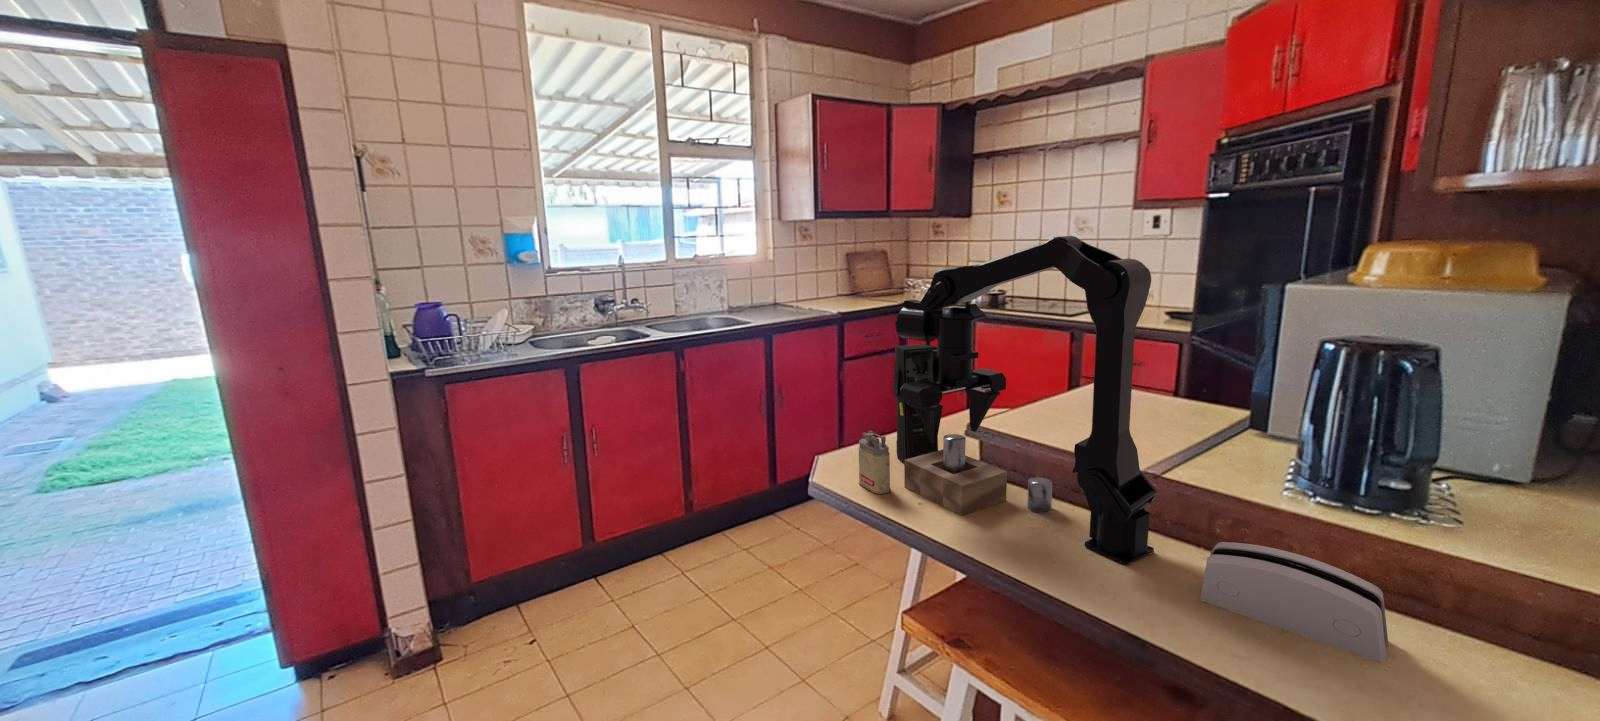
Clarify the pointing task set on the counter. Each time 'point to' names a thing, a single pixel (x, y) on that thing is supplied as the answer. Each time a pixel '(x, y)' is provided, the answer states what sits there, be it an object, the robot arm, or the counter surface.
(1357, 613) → the grey curved block
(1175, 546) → the counter surface
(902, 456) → the portable radio
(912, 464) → the block
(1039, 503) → the short pin
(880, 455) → the lighter
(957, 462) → the tall pin
